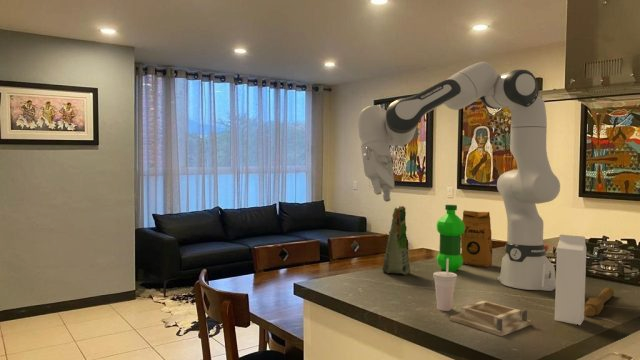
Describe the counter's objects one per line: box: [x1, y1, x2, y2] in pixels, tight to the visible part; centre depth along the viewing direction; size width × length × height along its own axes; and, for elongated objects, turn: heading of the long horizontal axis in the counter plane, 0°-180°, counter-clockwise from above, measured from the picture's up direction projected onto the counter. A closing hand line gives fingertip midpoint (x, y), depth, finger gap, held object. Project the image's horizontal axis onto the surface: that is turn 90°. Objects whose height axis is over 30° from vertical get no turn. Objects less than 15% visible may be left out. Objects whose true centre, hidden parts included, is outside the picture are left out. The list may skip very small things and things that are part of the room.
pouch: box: [381, 205, 411, 276], centre depth 173 cm, size 11×12×25 cm
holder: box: [449, 300, 532, 337], centre depth 118 cm, size 14×14×4 cm
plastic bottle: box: [436, 204, 465, 272], centre depth 180 cm, size 10×10×25 cm
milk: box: [554, 234, 587, 326], centre depth 121 cm, size 6×6×22 cm
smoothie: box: [432, 258, 458, 312], centre depth 129 cm, size 6×6×14 cm
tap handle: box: [584, 287, 615, 318], centre depth 136 cm, size 3×3×30 cm
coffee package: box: [461, 209, 493, 268], centre depth 191 cm, size 10×12×22 cm
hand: (382, 197), depth 142 cm, fingers open, 8 cm apart
